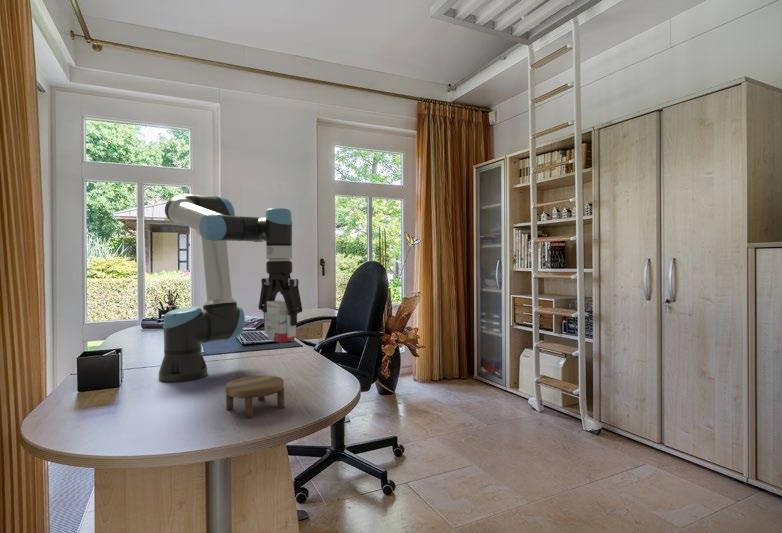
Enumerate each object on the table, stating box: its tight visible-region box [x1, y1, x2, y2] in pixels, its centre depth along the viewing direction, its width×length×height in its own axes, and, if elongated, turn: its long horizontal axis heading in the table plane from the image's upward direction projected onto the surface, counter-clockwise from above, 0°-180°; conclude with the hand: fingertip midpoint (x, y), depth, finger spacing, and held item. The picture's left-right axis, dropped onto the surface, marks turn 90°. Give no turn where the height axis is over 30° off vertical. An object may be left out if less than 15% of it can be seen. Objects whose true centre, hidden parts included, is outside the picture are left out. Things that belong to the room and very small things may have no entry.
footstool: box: [225, 375, 285, 419], centre depth 116 cm, size 15×15×7 cm
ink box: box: [267, 299, 295, 344], centre depth 129 cm, size 9×5×12 cm, turn 41°
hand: (280, 334), depth 129 cm, fingers closed on ink box, 9 cm apart
